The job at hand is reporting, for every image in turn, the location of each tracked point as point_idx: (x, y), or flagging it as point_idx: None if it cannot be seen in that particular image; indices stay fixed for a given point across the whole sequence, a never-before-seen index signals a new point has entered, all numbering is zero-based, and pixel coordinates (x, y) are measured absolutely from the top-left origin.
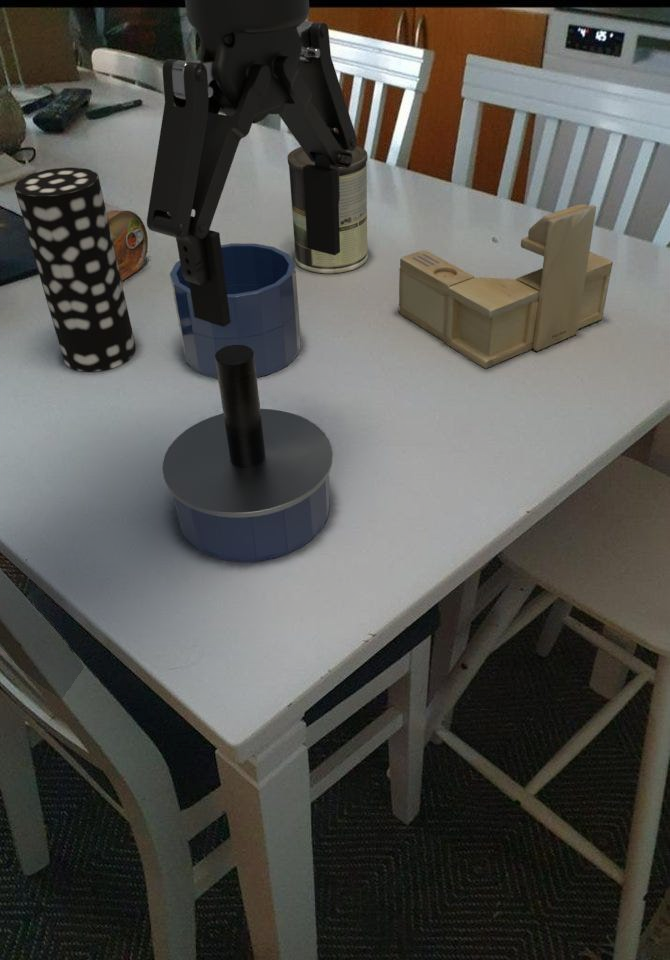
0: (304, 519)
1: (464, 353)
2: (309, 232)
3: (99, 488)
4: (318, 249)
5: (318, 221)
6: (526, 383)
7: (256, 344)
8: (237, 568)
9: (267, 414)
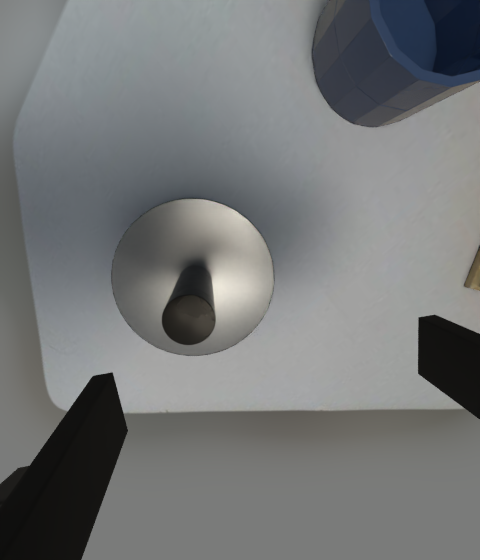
0: None
1: (477, 258)
2: (444, 337)
3: (116, 136)
4: (420, 343)
5: (468, 373)
6: (459, 323)
7: (365, 104)
8: None
9: (255, 245)
